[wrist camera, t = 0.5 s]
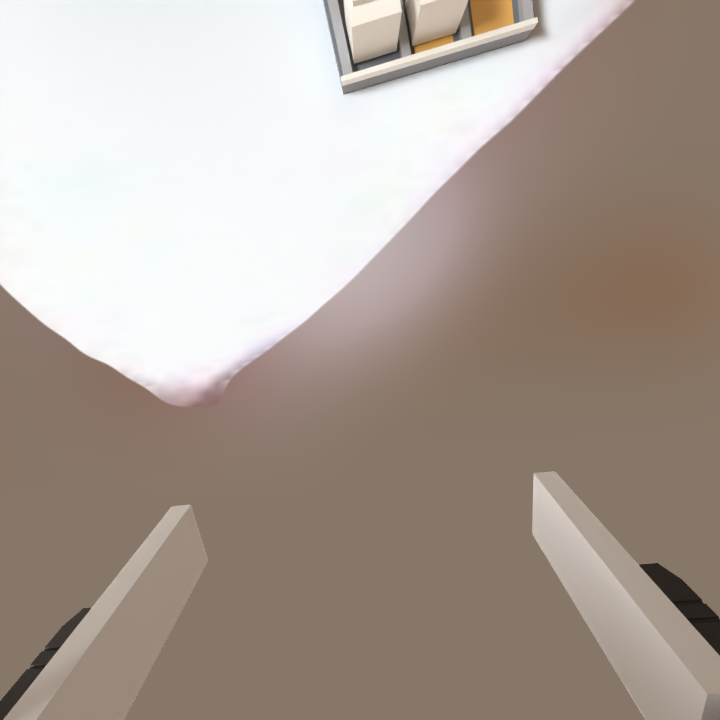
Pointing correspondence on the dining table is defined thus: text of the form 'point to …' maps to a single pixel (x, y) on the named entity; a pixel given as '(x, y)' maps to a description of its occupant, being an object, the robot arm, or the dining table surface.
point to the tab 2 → (433, 18)
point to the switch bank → (474, 36)
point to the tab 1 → (372, 27)
